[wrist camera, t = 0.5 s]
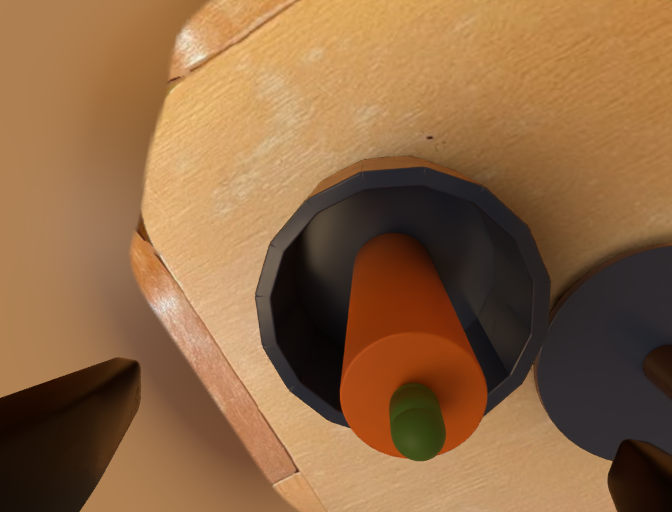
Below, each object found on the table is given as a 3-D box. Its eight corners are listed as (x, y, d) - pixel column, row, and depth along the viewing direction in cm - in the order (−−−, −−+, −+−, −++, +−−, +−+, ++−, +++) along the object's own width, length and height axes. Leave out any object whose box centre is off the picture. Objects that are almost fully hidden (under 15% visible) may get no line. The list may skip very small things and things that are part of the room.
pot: (453, 389, 23) (478, 470, 17) (260, 327, 22) (227, 390, 17) (541, 198, 20) (605, 226, 14) (320, 124, 19) (302, 125, 14)
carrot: (415, 316, 21) (469, 539, 10) (343, 293, 21) (312, 489, 10) (444, 246, 20) (541, 406, 9) (368, 221, 20) (366, 349, 9)
